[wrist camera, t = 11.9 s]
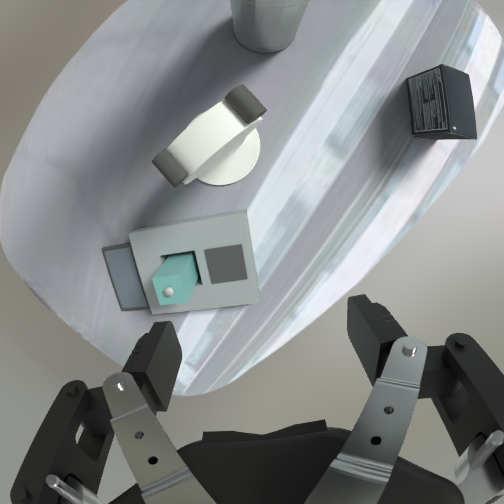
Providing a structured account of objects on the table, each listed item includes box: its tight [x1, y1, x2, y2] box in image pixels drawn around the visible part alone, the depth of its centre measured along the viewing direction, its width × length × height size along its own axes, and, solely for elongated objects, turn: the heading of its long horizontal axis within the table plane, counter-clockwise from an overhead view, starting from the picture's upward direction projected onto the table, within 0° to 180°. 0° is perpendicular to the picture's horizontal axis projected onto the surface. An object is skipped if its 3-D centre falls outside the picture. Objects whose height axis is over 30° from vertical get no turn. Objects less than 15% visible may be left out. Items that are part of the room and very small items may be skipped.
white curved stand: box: [152, 84, 267, 188], centre depth 30 cm, size 12×11×15 cm
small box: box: [406, 64, 477, 140], centre depth 30 cm, size 11×6×10 cm, turn 4°
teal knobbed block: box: [152, 251, 199, 305], centre depth 38 cm, size 4×4×10 cm
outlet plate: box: [128, 210, 260, 314], centre depth 42 cm, size 14×18×3 cm
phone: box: [102, 243, 150, 311], centre depth 44 cm, size 6×12×1 cm, turn 8°
